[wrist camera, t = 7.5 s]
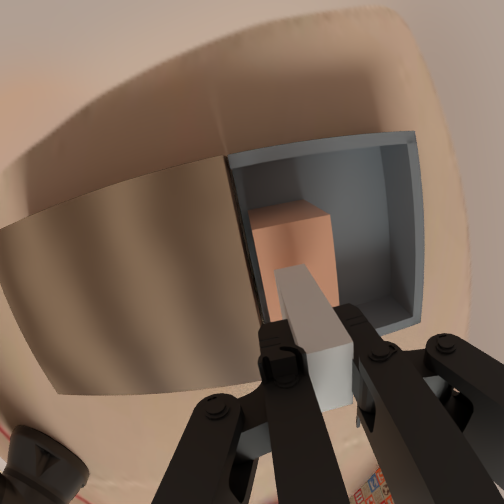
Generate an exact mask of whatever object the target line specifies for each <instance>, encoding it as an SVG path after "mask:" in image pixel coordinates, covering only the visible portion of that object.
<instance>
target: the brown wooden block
mask: <svg viewBox="0 0 504 504" xmlns="http://www.w3.org/2000/svg"><path fill="white" fill-rule="evenodd" d="M0 284H1V287H2V289H3V292H4V294H5V297H6V299H7V301H8V304H9V306H10V308H11V311H12V313H13V315H14V317H15V319H16V322H17V324H18V326H19V328H20V330H21V332H22V334H23V336H24V338H25V340H26V342H27V343H28V345H29V347H30V349H31V351H32V353H33V354H34V356H35V358H36V360H37V361H38V363H39V365H40V367H41V368H42V370H43V372H44V373H45V375H46V376H47V378H48V380H49V381H50V383H51V384H52V386H53V387H54V389H55V390H56V392H57V393H58V394H63V395H142V394H159V393H172V392H183V391H193V390H202V389H210V388H217V387H225V386H231V385H238V384H244V383H250V382H256V381H261V376H260V372H259V368H258V364H257V363H258V357H259V356H260V355H261V354H260V346H259V339H258V331H259V329H260V327H261V325H262V320H261V315H260V311H259V306H258V302H257V297H256V292H255V288H254V283H253V279H252V274H251V269H250V265H249V260H248V256H247V251H246V246H245V242H244V237H243V232H242V228H241V223H240V218H239V214H238V209H237V204H236V200H235V195H234V190H233V186H232V181H231V176H230V172H229V167H228V162H227V157H225V156H223V155H220V156H216V157H211V158H207V159H203V160H199V161H194V162H190V163H186V164H182V165H179V166H175V167H171V168H167V169H164V170H160V171H156V172H153V173H149V174H146V175H143V176H139V177H136V178H133V179H129V180H126V181H123V182H120V183H117V184H113V185H110V186H107V187H104V188H101V189H99V190H96V191H93V192H90V193H87V194H84V195H81V196H79V197H76V198H73V199H71V200H68V201H65V202H63V203H60V204H58V205H55V206H53V207H50V208H48V209H45V210H43V211H40V212H38V213H35V214H33V215H31V216H28V217H26V218H24V219H22V220H19V221H17V222H15V223H13V224H10V225H8V226H6V227H4V228H2V229H0Z"/></svg>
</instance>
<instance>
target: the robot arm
mask: <svg viewBox="0 0 504 504" xmlns="http://www.w3.org/2000/svg"><path fill="white" fill-rule="evenodd" d="M274 276H275V281H276V286H277V292H278V297H279V303H280V308H281V314H282V319H283V320H279V321H274V322H269V323H265V324H262V325H261V327H260V329H259V331H258V339H259V346H260V354H261V355H260V356H259V357H258V363H257V364H258V368H259V372H260V376H261V380H262V382H261V384H260V385H259V387H258V388H257V389H255V390H254V391H253V392H251V393H249V394H248V395H245V396H243V397H241V398H238V399H237V398H236V397H234V396H232V395H230V394H224V393H220V394H213V395H210V396H208V397H205V398H204V399H203V400H201V401H200V402H199V403H198V404H197V405H196V407H195V408H194V410H193V413H192V415H191V417H190V419H189V422H188V424H187V426H186V428H185V431H184V433H183V435H182V437H181V439H180V442H179V444H178V446H177V448H176V450H175V453H174V455H173V457H172V459H171V461H170V464H169V466H168V468H167V470H166V472H165V475H164V477H163V479H162V481H161V483H160V486H159V488H158V490H157V492H156V494H155V496H154V499H153V501H152V503H151V504H248V503H249V499H250V495H251V491H252V486H253V482H254V478H255V473H256V469H257V464H258V460H259V457H260V456H262V455H265V454H267V453H269V452H271V451H272V458H273V465H274V473H275V480H276V487H277V495H278V502H279V504H350V501H349V498H348V495H347V491H346V488H345V485H344V482H343V479H342V475H341V472H340V469H339V466H338V463H337V459H336V456H335V453H334V450H333V447H332V444H331V441H330V437H329V434H328V431H327V428H326V425H325V422H324V419H323V416H322V413H321V412H324V411H328V410H332V409H336V408H339V407H343V406H346V405H349V404H353V394H354V397H355V399H356V401H357V417H356V426H357V428H358V427H360V421H361V424H362V426H363V428H364V431H365V433H366V435H367V438H368V440H369V442H370V445H371V447H372V449H373V452H374V454H375V457H376V459H377V461H378V464H379V466H380V469H381V471H382V474H383V476H384V479H385V481H386V483H387V486H388V488H389V491H390V493H391V496H392V499H393V501H394V504H504V499H503V498H502V496H501V494H500V492H499V490H498V489H497V487H496V485H495V484H494V482H495V483H496V484H497V485H499V486H500V487H501V488H502V489H503V490H504V364H502V363H500V362H499V361H497V360H496V359H494V358H492V357H491V356H489V355H487V354H486V353H484V352H482V351H481V350H479V349H478V348H476V347H474V346H473V345H471V344H469V343H468V342H466V341H465V340H463V339H461V338H460V337H458V336H455V335H453V334H447V333H443V334H437V335H435V336H432V337H431V338H430V339H429V340H428V341H427V344H426V348H425V349H420V350H411V351H402V350H401V349H400V347H398V346H397V345H396V344H394V343H392V342H389V341H383V339H382V338H381V337H380V335H379V334H378V333H377V331H376V330H375V329H374V327H373V326H372V325H371V323H370V322H368V319H367V318H366V317H365V316H364V314H363V313H362V312H361V310H360V309H359V308H358V307H356V306H354V305H352V304H350V303H347V304H343V305H339V306H335V307H332V306H331V305H330V303H329V302H328V300H327V298H326V297H325V295H324V294H323V292H322V290H321V289H320V287H319V286H318V284H317V283H316V281H315V279H314V278H313V276H312V275H311V273H310V272H309V270H308V268H307V267H306V265H305V264H300V265H295V266H290V267H285V268H281V269H276V270H274ZM454 388H455V389H457V390H458V391H459V392H456V391H454V390H453V389H454ZM88 478H89V471H88V469H87V467H86V466H85V465H84V463H83V462H82V461H81V460H80V459H79V458H77V457H76V456H75V455H74V454H73V453H71V452H70V451H69V450H68V449H66V448H65V447H63V446H62V445H61V444H59V443H58V442H56V441H55V440H53V439H51V438H50V437H48V436H46V435H44V434H43V433H41V432H39V431H37V430H34V429H32V428H29V427H26V426H17V427H16V428H15V429H14V431H13V433H12V434H11V437H10V445H9V451H8V460H7V465H6V467H5V469H4V471H3V473H2V474H1V473H0V504H69V502H70V501H71V500H72V499H73V498H74V497H75V496H76V494H77V493H78V492H79V490H80V488H83V487H84V486H85V485H86V483H87V480H88ZM493 481H494V482H493Z"/></svg>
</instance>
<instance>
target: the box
mask: <svg viewBox="0 0 504 504" xmlns="http://www.w3.org/2000/svg"><path fill="white" fill-rule="evenodd" d="M227 156H228V160H229V165H230V169H232V173H233V177H234V182H235V187H236V191H237V196H238V201H239V206H240V210H241V215H242V220H243V224H244V229H245V234H246V239H247V243H248V248H249V253H250V257H251V262H252V267H253V271H254V276H255V281H256V285H257V290H258V295H259V299H260V304H261V309H262V313H263V318H264V323H269V322H270V317H269V312H268V308H267V303H266V298H265V294H264V289H263V284H262V279H261V274H260V269H259V264H258V260H257V255H256V250H255V245H254V240H253V235H252V230H251V225H250V221H249V216H248V211H247V210H251V209H256V208H261V207H266V206H271V205H276V204H281V203H287V202H292V201H297V200H303V199H304V200H306V201H308V202H309V203H311V204H313V205H314V206H316V207H318V208H320V209H321V210H323V211H325V212H326V213H328V214H330V218H331V226H332V234H333V242H334V251H335V261H336V271H337V281H338V293H339V305H343V304H347V303H350V304H352V305H354V306H356V307H358V308H359V309H360V310H361V312H362V313H363V314H364V316H365V317H366V318H367V319H368V322H370V323H371V325H372V326H373V327H374V329H375V330H376V331H377V333H378V334H379V335H380V336H383V335H386V334H389V333H392V332H395V331H398V330H401V329H404V328H407V327H410V326H412V325H415V324H418V323H420V322H421V312H422V300H423V284H424V211H423V195H422V183H421V173H420V164H419V156H418V148H417V142H416V135H415V131H399V132H383V133H370V134H359V135H349V136H340V137H331V138H323V139H316V140H308V141H302V142H295V143H289V144H282V145H276V146H271V147H265V148H260V149H254V150H249V151H244V152H239V153H234V154H229V155H227Z"/></svg>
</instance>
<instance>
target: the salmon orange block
mask: <svg viewBox="0 0 504 504" xmlns="http://www.w3.org/2000/svg"><path fill="white" fill-rule="evenodd" d="M247 211H248V216H249V221H250V225H251V230H252V235H253V240H254V245H255V250H256V255H257V260H258V264H259V269H260V274H261V279H262V284H263V289H264V294H265V298H266V303H267V308H268V312H269V317H270V322H274V321H279V320H283V319H282V314H281V308H280V303H279V297H278V292H277V286H276V281H275V276H274V270H276V269H281V268H285V267H290V266H295V265H300V264H305V265H306V267H307V268H308V270H309V272H310V273H311V275H312V276H313V278H314V279H315V281H316V283H317V284H318V286H319V287H320V289H321V290H322V292H323V294H324V295H325V297H326V298H327V300H328V302H329V303H330V305H331V306H332V307H335V306H339V293H338V281H337V271H336V261H335V251H334V242H333V234H332V226H331V218H330V214H328V213H326V212H325V211H323V210H321V209H320V208H318V207H316V206H314V205H313V204H311V203H309V202H308V201H306V200H304V199H303V200H297V201H292V202H287V203H281V204H276V205H271V206H266V207H261V208H256V209H251V210H247Z"/></svg>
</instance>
